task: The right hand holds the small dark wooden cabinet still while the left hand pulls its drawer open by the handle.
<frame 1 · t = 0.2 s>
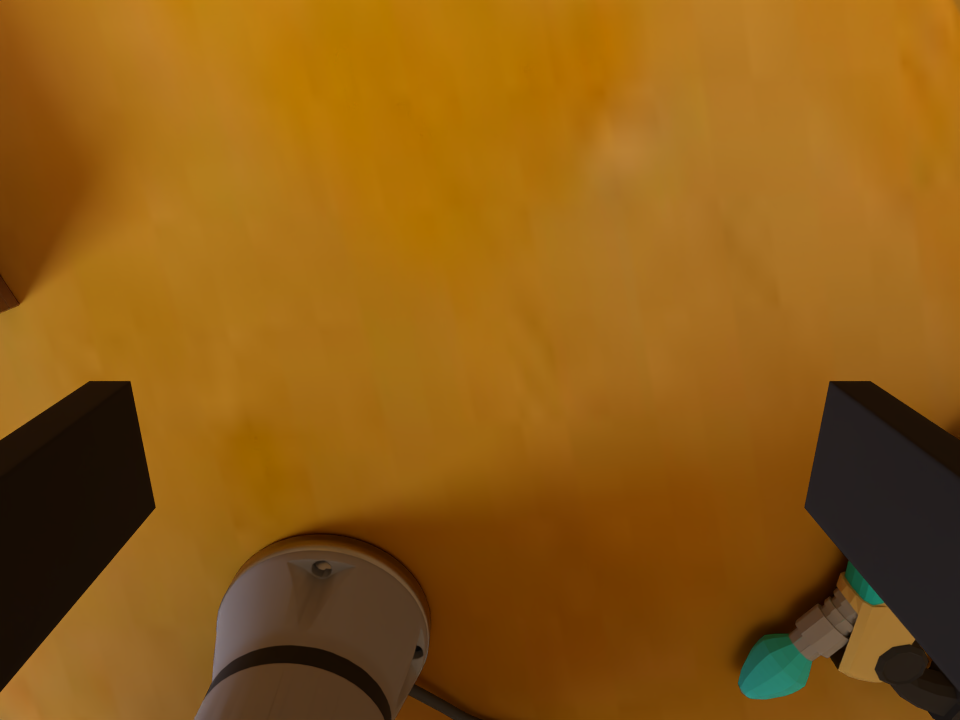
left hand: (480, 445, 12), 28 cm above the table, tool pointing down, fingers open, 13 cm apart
toy gun 2: (901, 572, 47), on the table
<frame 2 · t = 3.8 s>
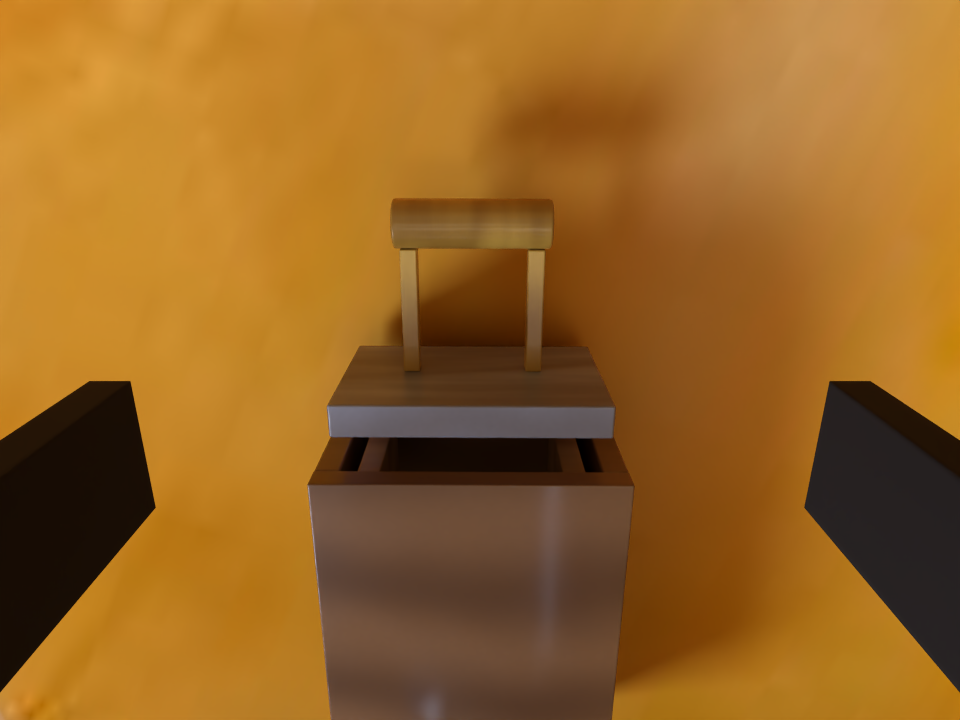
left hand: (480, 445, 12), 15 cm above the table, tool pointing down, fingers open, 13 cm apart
drawer: (472, 497, 26), point 4 cm above the table, slide at 1.2 cm
cabinet: (473, 561, 32), on the table
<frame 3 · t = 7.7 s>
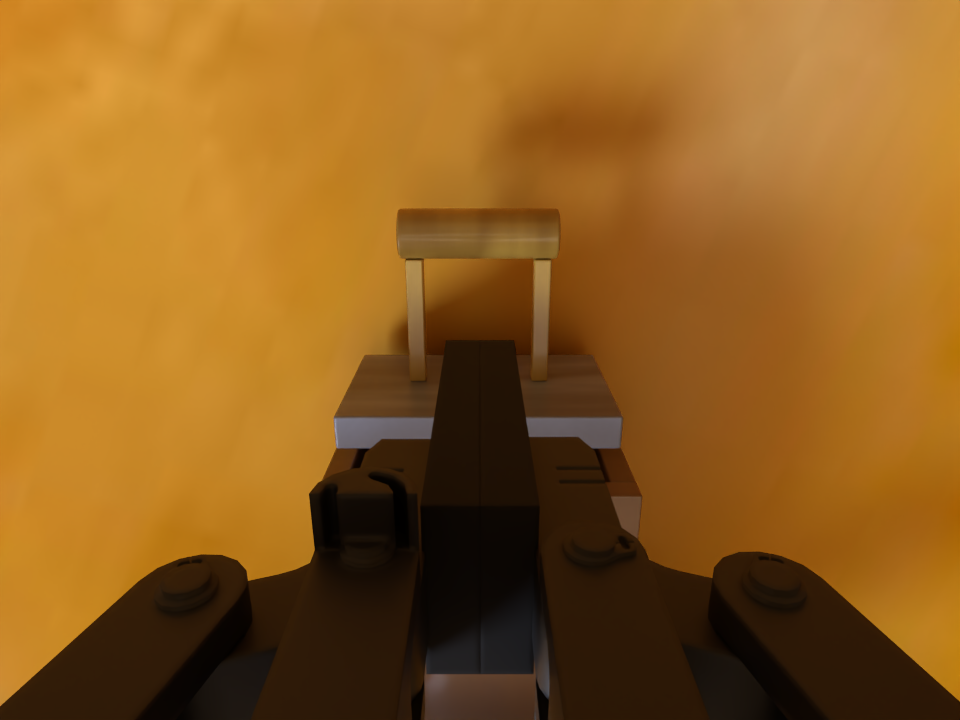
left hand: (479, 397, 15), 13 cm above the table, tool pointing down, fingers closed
drawer: (478, 506, 26), point 4 cm above the table, slide at 1.2 cm
cabinet: (478, 569, 32), on the table, touching right hand
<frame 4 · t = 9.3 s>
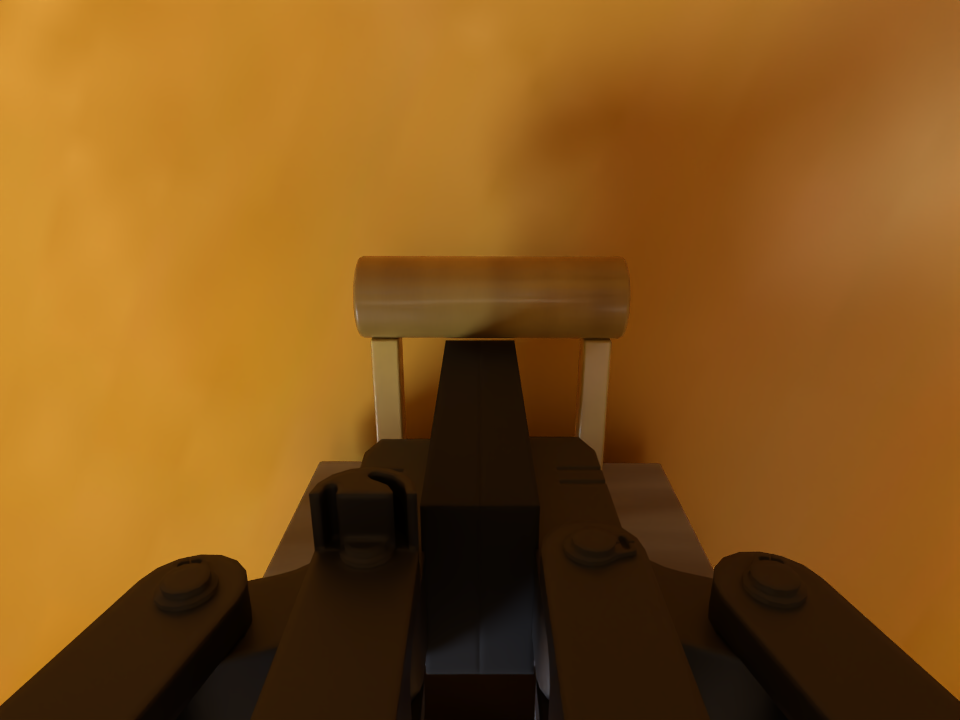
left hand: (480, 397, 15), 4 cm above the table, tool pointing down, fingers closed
drawer: (488, 698, 17), point 4 cm above the table, slide at 1.3 cm
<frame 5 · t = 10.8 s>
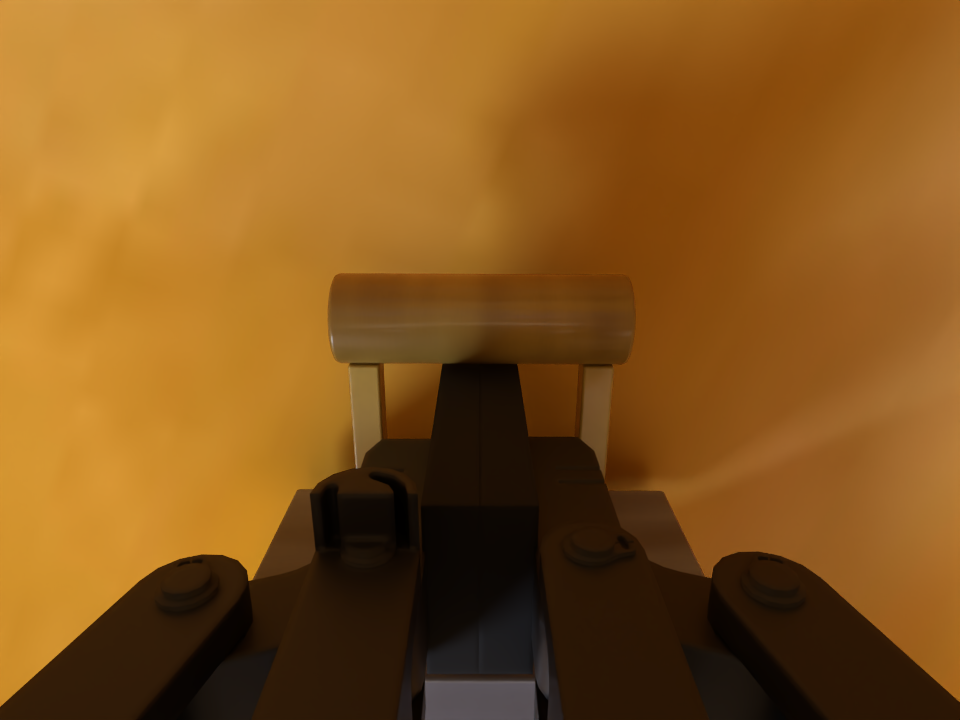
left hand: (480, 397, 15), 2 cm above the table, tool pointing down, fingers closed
when the right hand's fingers open (3 cm above the table, at t = 12.4 s): cabinet stays where it is, on the table.
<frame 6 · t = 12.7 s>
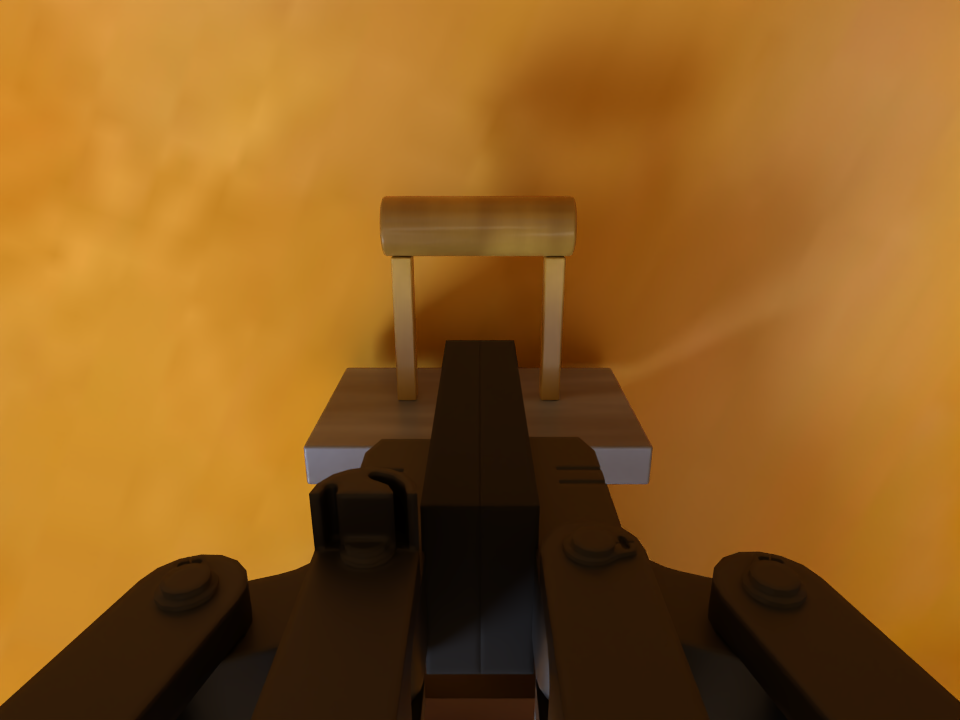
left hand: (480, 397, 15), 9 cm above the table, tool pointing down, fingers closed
drawer: (478, 544, 22), point 4 cm above the table, slide at 7.7 cm
cabinet: (478, 719, 30), on the table
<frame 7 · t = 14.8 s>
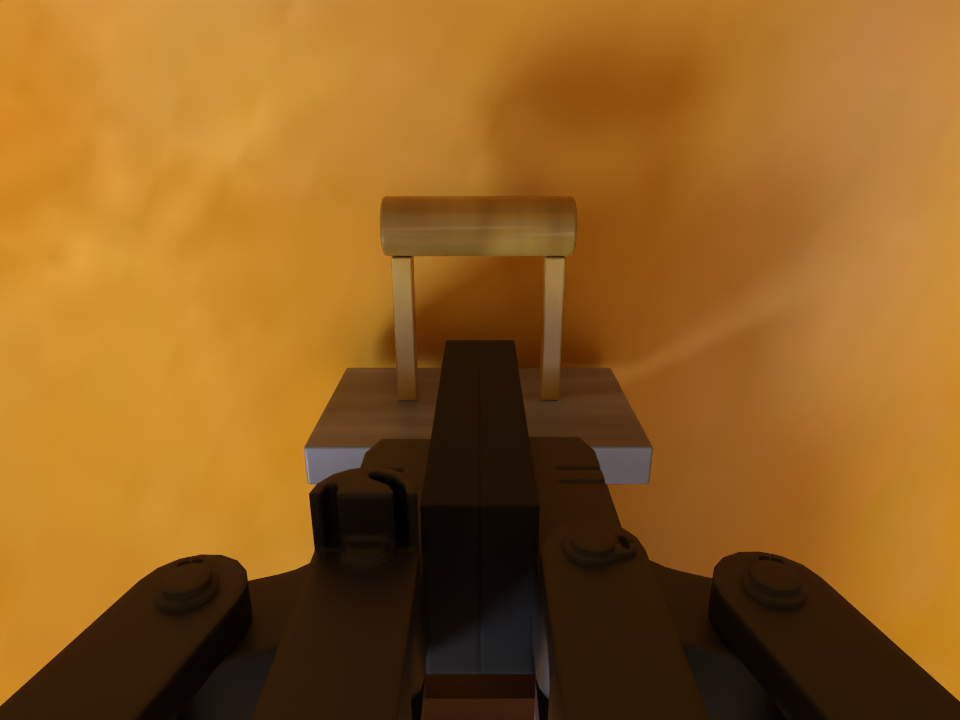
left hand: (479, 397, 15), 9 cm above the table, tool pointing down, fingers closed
drawer: (478, 544, 22), point 4 cm above the table, slide at 7.7 cm
cabinet: (478, 719, 30), on the table
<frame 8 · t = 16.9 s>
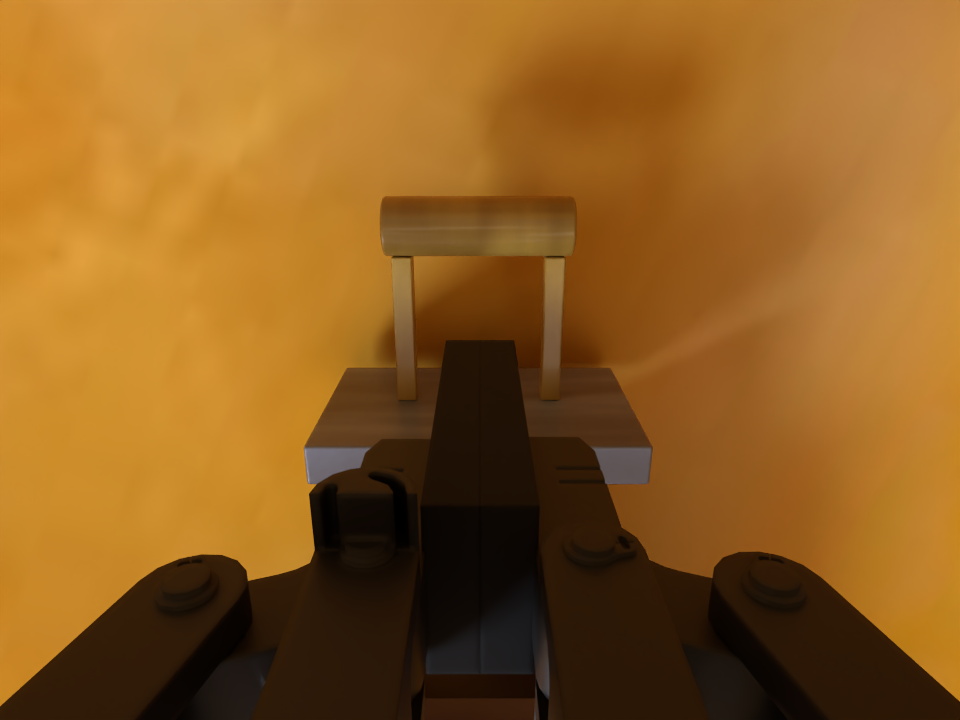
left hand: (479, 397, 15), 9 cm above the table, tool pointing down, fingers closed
drawer: (478, 544, 22), point 4 cm above the table, slide at 7.7 cm
cabinet: (478, 719, 30), on the table
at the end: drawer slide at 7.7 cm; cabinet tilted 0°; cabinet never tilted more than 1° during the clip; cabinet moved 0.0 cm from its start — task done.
